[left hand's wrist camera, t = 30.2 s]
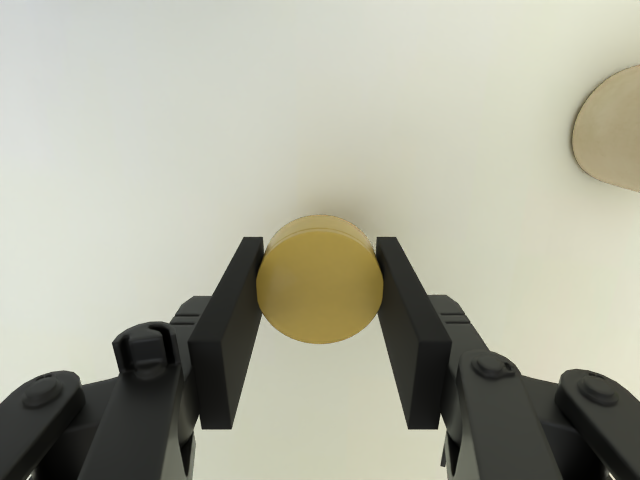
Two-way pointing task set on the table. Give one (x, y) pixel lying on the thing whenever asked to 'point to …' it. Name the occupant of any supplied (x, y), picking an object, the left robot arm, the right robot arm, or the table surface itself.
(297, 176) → the table surface
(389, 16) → the table surface
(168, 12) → the table surface
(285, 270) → the cap
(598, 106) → the candle
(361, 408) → the table surface
